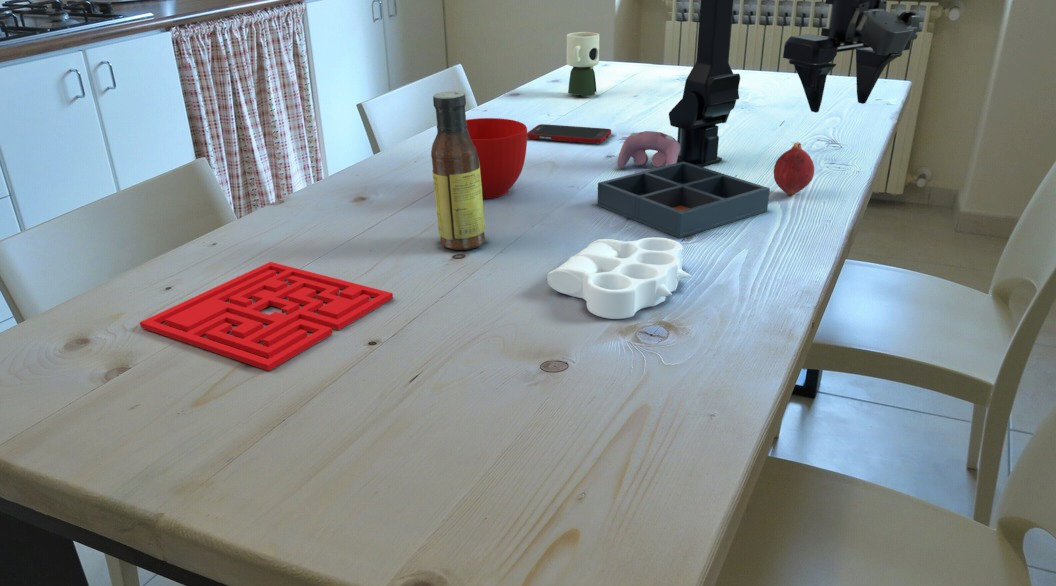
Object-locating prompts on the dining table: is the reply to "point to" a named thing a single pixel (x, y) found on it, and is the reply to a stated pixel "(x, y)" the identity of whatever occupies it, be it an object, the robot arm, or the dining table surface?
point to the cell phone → (569, 133)
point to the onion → (793, 170)
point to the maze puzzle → (282, 330)
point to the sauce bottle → (456, 176)
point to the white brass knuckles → (621, 275)
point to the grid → (682, 198)
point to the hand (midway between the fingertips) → (838, 107)
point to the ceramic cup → (498, 152)
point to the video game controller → (649, 141)
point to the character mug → (582, 62)
